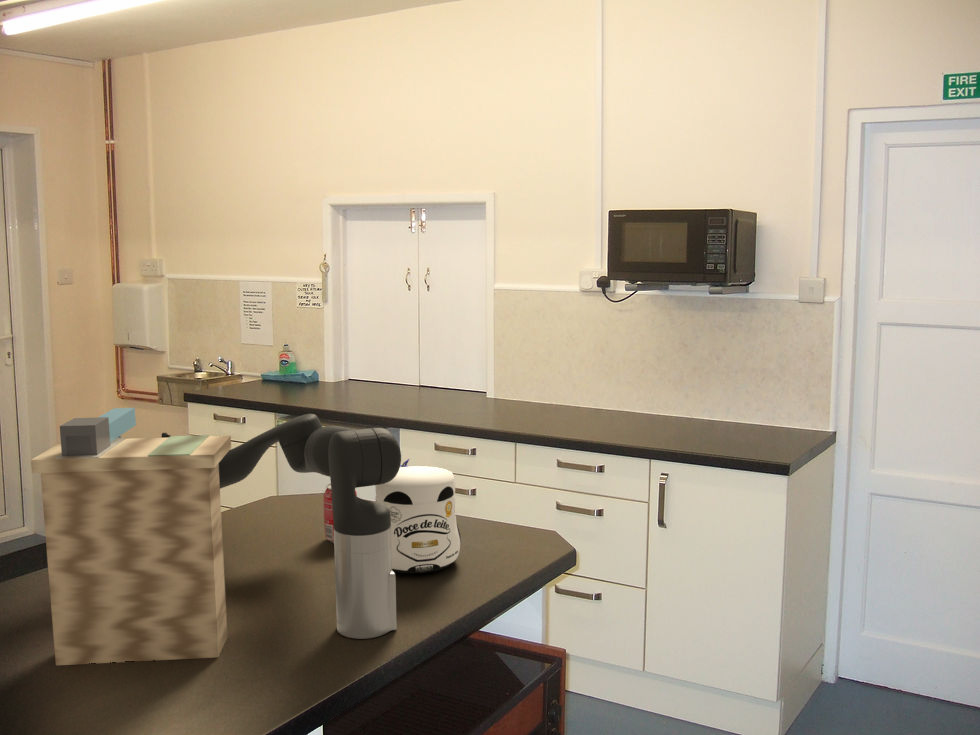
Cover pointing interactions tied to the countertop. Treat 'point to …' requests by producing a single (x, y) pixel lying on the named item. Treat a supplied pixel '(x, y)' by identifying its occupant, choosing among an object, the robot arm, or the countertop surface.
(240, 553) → the countertop surface
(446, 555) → the doce de leite tub
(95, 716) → the countertop surface
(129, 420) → the two-tone rectangular bar
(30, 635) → the countertop surface
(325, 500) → the soda can
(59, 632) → the wavy striped plinth
